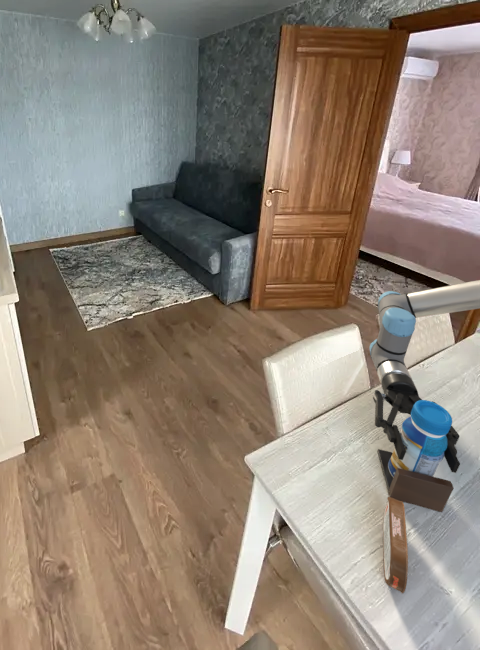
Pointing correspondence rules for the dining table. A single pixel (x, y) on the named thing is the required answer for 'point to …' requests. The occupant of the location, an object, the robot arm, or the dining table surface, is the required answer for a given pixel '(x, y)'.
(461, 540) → the dining table surface
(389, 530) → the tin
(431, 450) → the blue capped bottle
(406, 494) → the dock
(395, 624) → the dining table surface
